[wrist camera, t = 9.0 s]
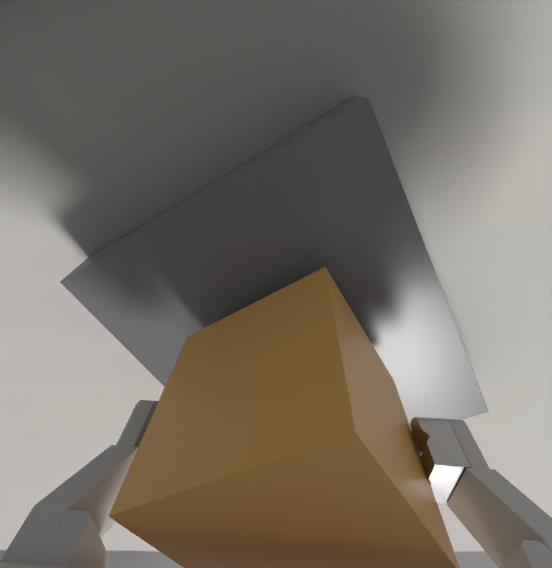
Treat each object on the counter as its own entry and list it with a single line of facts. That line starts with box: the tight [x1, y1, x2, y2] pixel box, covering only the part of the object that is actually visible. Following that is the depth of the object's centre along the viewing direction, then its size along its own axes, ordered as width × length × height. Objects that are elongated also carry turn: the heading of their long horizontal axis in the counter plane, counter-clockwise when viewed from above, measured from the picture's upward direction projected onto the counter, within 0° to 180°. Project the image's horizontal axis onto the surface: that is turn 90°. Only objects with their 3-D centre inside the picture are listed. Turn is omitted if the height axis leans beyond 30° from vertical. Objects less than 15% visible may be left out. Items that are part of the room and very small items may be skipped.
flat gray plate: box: [60, 96, 489, 430], centre depth 13 cm, size 12×14×6 cm
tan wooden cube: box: [109, 267, 459, 568], centre depth 10 cm, size 6×6×6 cm
